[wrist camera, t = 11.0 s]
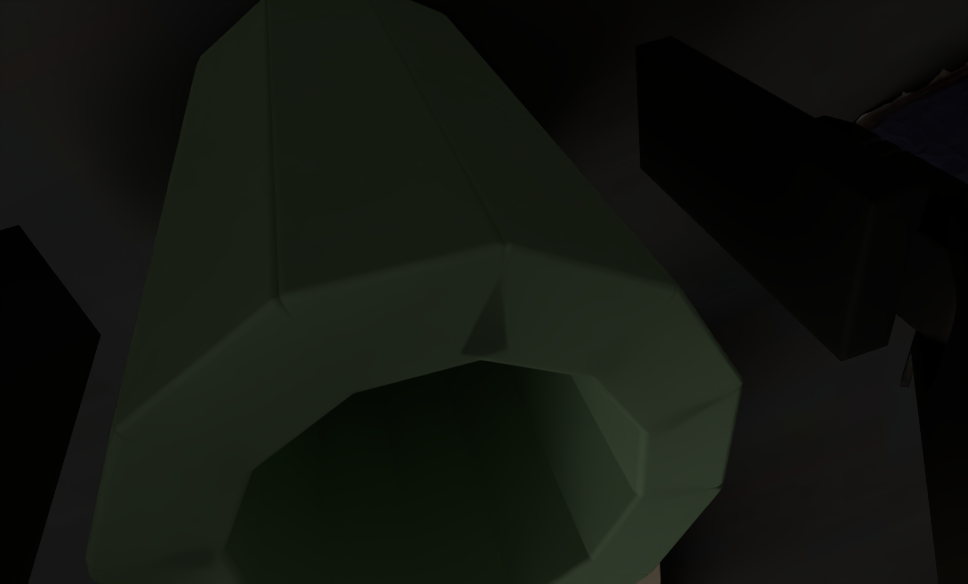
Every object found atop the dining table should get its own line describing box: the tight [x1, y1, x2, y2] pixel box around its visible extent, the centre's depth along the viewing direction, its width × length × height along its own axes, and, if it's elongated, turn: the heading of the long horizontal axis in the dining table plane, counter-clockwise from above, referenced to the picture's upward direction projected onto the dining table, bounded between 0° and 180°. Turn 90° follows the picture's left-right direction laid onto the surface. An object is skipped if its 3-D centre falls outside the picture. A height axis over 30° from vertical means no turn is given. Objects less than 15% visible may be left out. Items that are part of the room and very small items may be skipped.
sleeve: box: [85, 0, 743, 584], centre depth 11 cm, size 7×7×10 cm
